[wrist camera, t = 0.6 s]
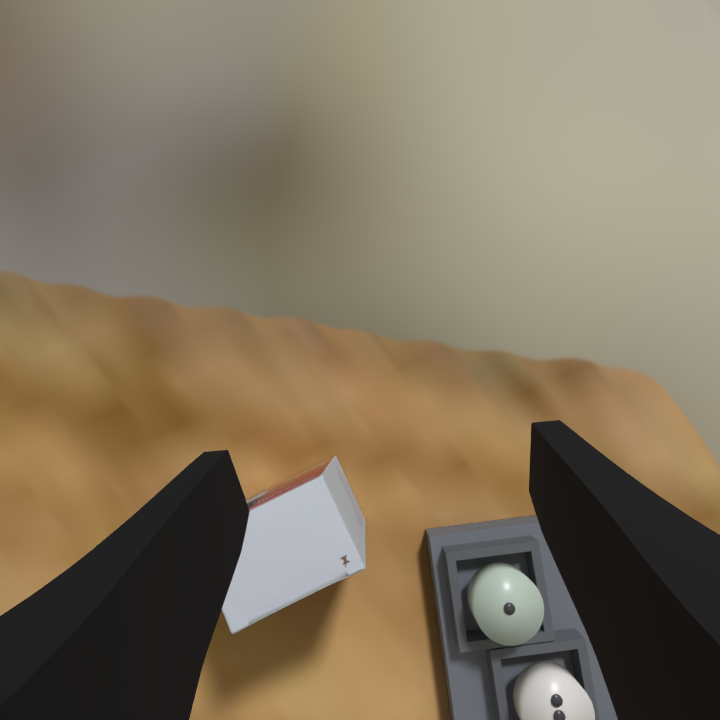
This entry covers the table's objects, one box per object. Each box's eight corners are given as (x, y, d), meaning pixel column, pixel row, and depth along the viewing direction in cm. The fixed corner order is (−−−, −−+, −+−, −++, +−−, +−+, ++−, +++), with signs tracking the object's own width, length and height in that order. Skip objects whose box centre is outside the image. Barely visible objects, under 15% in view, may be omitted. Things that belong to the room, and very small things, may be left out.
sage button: (538, 627, 29) (550, 641, 27) (472, 635, 29) (480, 650, 27) (526, 558, 30) (538, 567, 28) (462, 566, 30) (469, 576, 28)
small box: (336, 454, 34) (325, 470, 24) (367, 521, 34) (369, 569, 23) (241, 499, 34) (188, 536, 23) (271, 568, 33) (229, 638, 23)
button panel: (636, 815, 31) (669, 864, 28) (467, 838, 31) (480, 890, 27) (580, 509, 34) (605, 519, 30) (425, 529, 33) (432, 542, 30)
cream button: (586, 729, 28) (602, 751, 27) (519, 738, 28) (530, 761, 26) (573, 656, 29) (588, 673, 27) (507, 665, 29) (518, 682, 27)
